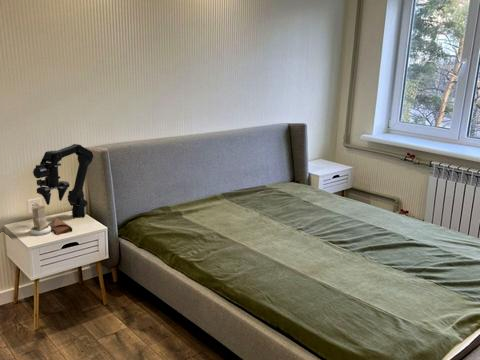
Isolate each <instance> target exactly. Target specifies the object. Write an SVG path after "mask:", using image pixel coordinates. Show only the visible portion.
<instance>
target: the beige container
mask: <svg viewBox="0 0 480 360" xmlns="http://www.w3.org/2000/svg"><path fill="white" fill-rule="evenodd" d="M31 211H32V213H31V214H32V222H33V223H32V224H33V228H32V227H31V228H32V230H37V231H41V230H44V229H46V228H48V224H47V219H46V218H47V217H46V207H45V205H39V204H38V205H35V206H33V207H31Z"/></svg>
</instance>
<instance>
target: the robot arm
mask: <svg viewBox="0 0 480 360" xmlns="http://www.w3.org/2000/svg"><path fill="white" fill-rule="evenodd" d="M91 151H92V150H90V149H88V148H86V147H84V146H83V145H81V144H78V143H73V144H71V145H69V146H66V147H64V148H60V149H59V150H46V151H45V152H44V154H43V157H42V159H41V160H40V163H39V164H36V165H35V168H33V171H32V174H33V176H34V178H36V185H37V188H36V194H39V195H41V196H42V197H43V199H44V201H45V203H46V205H47V206H49V205H50V202H51V196H52V193H51V191H52V190H55V189H56V190H57V193H58V200H59V202H60V201H62V200H63V198H64V196H65V194H66V192H67V190H68V189H69V187H70V183H69V182H68V181H65V180H61V181H60V179H61V176H60V175H59V166H62V163H60V161H62V160H63V159H64V158H65V157H67V156H71V155H73V154H75V155H76V156H77V161H78V167H77V172H76V176H75V181H74V185H73V188H72V189H71V190H69V191H68V193H67V201H68V203H69V205H70V207H71V206H72V208H71V214H72V218H85V216H86V214H87V213H86V207H87V206H88V201H87V200H86V199H85V193H84V190H83V189H84V186H85V185H84V184H85V181H86V176H87V172H88V167H89V166H90V165H91V163H92V161H93V159H94V156H93V154H94V153H93V154H92V152H93V151H92V152H91ZM92 158H93V159H92ZM42 178H44V179H42ZM38 186H39V187H38Z"/></svg>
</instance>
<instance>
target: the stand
mask: <svg viewBox="0 0 480 360" xmlns="http://www.w3.org/2000/svg"><path fill="white" fill-rule="evenodd" d="M33 227H34V226H33ZM33 227H31V228H30V229H29V230H30V234H31V236H44V235H49V234H50V233H51V232H52V230H51V227H50V226H48V228H46V229H44V230H41V231H37V230H32V228H33Z"/></svg>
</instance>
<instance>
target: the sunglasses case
mask: <svg viewBox="0 0 480 360" xmlns="http://www.w3.org/2000/svg"><path fill="white" fill-rule="evenodd" d="M47 225H48V226H50V227H51V232H53V233H54V234H56V236H60V235H63V234H64V235H65V234H68V233H73V228H72V227H71V226H70V225H68V224H67V223H66V222H64V221H63V220H61V219H59V218H58V217H56V218H54V220H52V221H50V222H49V223H47Z"/></svg>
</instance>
